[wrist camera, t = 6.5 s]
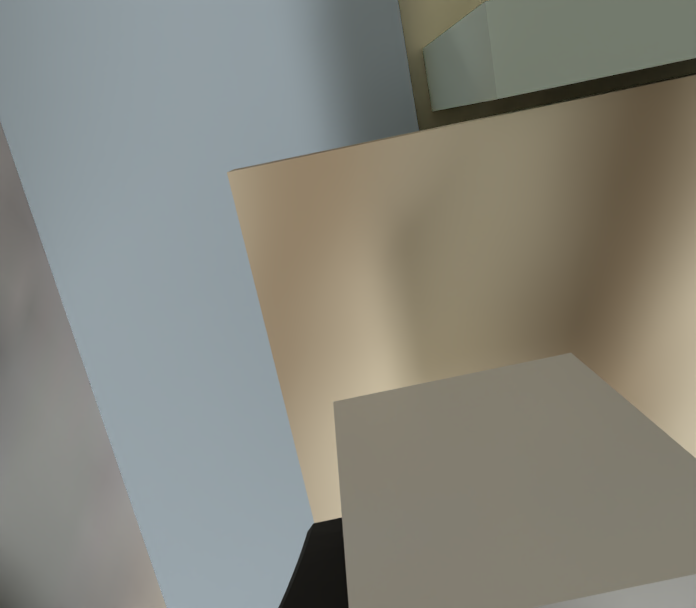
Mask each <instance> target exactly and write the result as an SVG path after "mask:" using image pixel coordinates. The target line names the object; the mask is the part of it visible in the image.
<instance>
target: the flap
mask: <svg viewBox="0 0 696 608" xmlns="http://www.w3.org/2000/svg"><path fill="white" fill-rule="evenodd" d="M227 175H228V179H229V183H230V187H231V191H232V195H233V199H234V203H235V207H236V211H237V215H238V219H239V223H240V227H241V231H242V235H243V239H244V243H245V247H246V251H247V255H248V259H249V263H250V267H251V271H252V275H253V279H254V283H255V287H256V291H257V295H258V299H259V303H260V307H261V311H262V315H263V319H264V323H265V327H266V331H267V335H268V339H269V343H270V347H271V351H272V355H273V359H274V363H275V367H276V371H277V376H278V380H279V384H280V388H281V392H282V396H283V400H284V404H285V408H286V412H287V416H288V420H289V424H290V428H291V432H292V436H293V440H294V444H295V448H296V452H297V456H298V460H299V464H300V468H301V472H302V476H303V480H304V484H305V488H306V492H307V496H308V500H309V504H310V508H311V512H312V516H313V520H314V523H317V522H322V521H327V520H332V519H337V518H341V517H342V512H341V499H340V486H339V472H338V459H337V446H336V433H335V420H334V407H333V402H334V401H339V400H344V399H349V398H354V397H358V396H363V395H368V394H373V393H378V392H383V391H388V390H392V389H397V388H402V387H407V386H412V385H417V384H421V383H426V382H431V381H436V380H441V379H446V378H451V377H455V376H460V375H465V374H470V373H475V372H480V371H485V370H489V369H494V368H499V367H504V366H509V365H514V364H519V363H523V362H528V361H533V360H538V359H543V358H548V357H553V356H557V355H562V354H567V353H572V354H573V355H574V356H575V357H577V358H578V359H579V360H580V361H581V362H583V363H584V364H585V365H586V366H587V367H588V368H590V369H591V370H592V371H593V372H594V373H596V374H597V375H598V376H599V377H600V378H601V379H603V380H604V381H605V382H606V383H607V384H609V385H610V386H611V387H612V388H613V389H614V390H616V391H617V392H618V393H619V394H620V395H622V396H623V397H624V398H625V399H626V400H627V401H629V402H630V403H631V404H632V405H633V406H635V407H636V408H637V409H638V410H639V411H640V412H642V413H643V414H644V415H645V416H646V417H648V418H649V419H650V420H651V421H652V422H653V423H655V424H656V425H657V426H658V427H659V428H661V429H662V430H663V431H664V432H665V433H666V434H668V435H669V436H670V437H671V438H672V439H674V440H675V441H676V442H677V443H678V444H679V445H681V446H682V447H683V448H684V449H685V450H687V451H688V452H689V453H690V454H691V455H692V456H694V457H695V458H696V73H695V74H690V75H685V76H681V77H676V78H671V79H666V80H661V81H657V82H652V83H647V84H642V85H637V86H633V87H628V88H623V89H618V90H613V91H608V92H604V93H599V94H594V95H589V96H584V97H580V98H575V99H570V100H565V101H560V102H556V103H551V104H546V105H541V106H536V107H532V108H527V109H522V110H517V111H512V112H508V113H503V114H498V115H493V116H488V117H483V118H479V119H474V120H469V121H464V122H459V123H455V124H450V125H445V126H440V127H435V128H431V129H426V130H421V131H416V132H411V133H407V134H402V135H397V136H392V137H387V138H382V139H378V140H373V141H368V142H363V143H358V144H354V145H349V146H344V147H339V148H334V149H330V150H325V151H320V152H315V153H310V154H306V155H301V156H296V157H291V158H286V159H282V160H277V161H272V162H267V163H262V164H257V165H253V166H248V167H243V168H238V169H233V170H231V171H229V172H227Z"/></svg>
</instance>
